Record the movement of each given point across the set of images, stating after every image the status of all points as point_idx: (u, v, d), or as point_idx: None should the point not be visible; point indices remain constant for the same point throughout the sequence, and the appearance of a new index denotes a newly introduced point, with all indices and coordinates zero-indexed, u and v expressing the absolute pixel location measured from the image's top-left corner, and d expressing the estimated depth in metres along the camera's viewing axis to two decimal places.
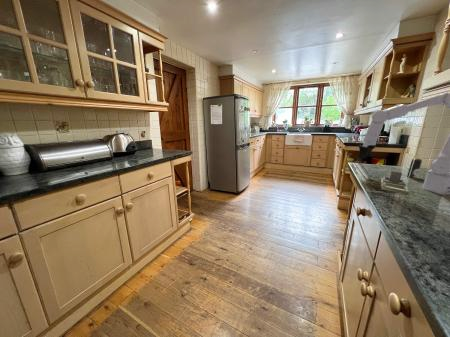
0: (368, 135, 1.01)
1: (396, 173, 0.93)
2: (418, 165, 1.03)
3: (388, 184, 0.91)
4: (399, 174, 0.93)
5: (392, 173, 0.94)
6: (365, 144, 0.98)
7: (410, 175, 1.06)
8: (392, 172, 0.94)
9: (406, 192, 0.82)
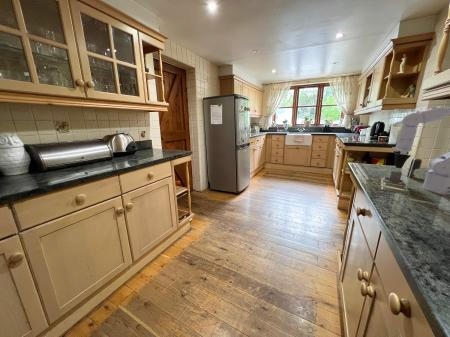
0: (402, 141, 0.89)
1: (396, 173, 0.93)
2: (418, 165, 1.03)
3: (388, 184, 0.91)
4: (399, 174, 0.93)
5: (392, 173, 0.94)
6: (404, 151, 0.86)
7: (410, 175, 1.06)
8: (392, 172, 0.94)
9: (406, 192, 0.82)
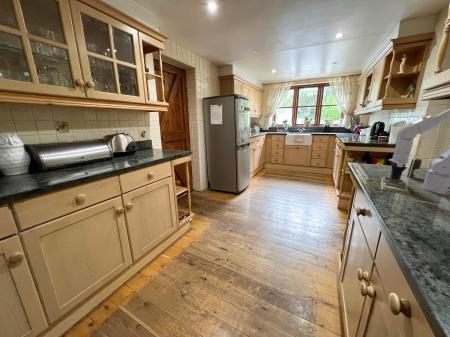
0: (399, 153, 0.91)
1: None
2: (418, 165, 1.03)
3: (388, 184, 0.91)
4: None
5: None
6: (400, 164, 0.88)
7: (410, 175, 1.06)
8: None
9: (406, 192, 0.82)
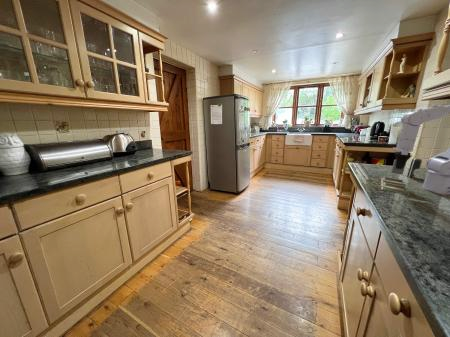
0: (403, 141, 0.85)
1: None
2: (418, 165, 1.03)
3: (388, 184, 0.91)
4: None
5: (395, 162, 0.89)
6: (405, 152, 0.82)
7: (410, 175, 1.06)
8: (395, 161, 0.89)
9: (406, 192, 0.82)
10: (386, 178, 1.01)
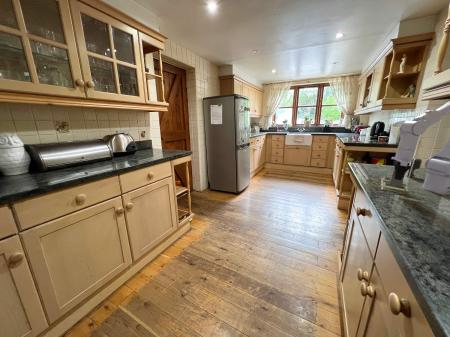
0: (402, 151, 0.81)
1: None
2: (418, 165, 1.03)
3: (388, 184, 0.91)
4: None
5: (394, 173, 0.85)
6: (404, 163, 0.78)
7: (410, 175, 1.06)
8: (394, 172, 0.85)
9: (406, 192, 0.82)
10: (386, 178, 1.01)
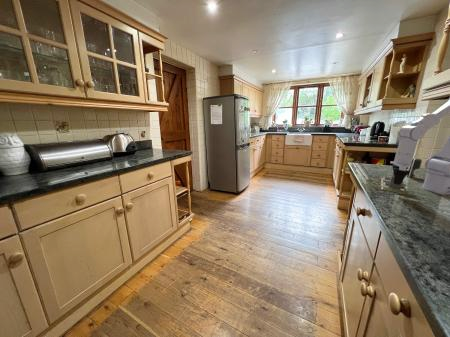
0: (401, 155, 0.82)
1: None
2: (418, 165, 1.03)
3: (388, 184, 0.91)
4: None
5: (392, 179, 0.86)
6: (403, 167, 0.79)
7: (410, 175, 1.06)
8: (392, 177, 0.85)
9: (406, 192, 0.82)
10: (386, 178, 1.01)
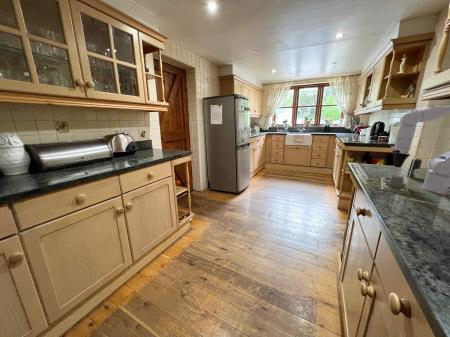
0: (401, 140, 0.89)
1: (397, 179, 0.85)
2: (418, 165, 1.03)
3: (388, 184, 0.91)
4: (400, 180, 0.84)
5: (392, 179, 0.86)
6: (403, 150, 0.86)
7: (410, 175, 1.06)
8: (392, 177, 0.85)
9: (406, 192, 0.82)
10: (386, 178, 1.01)
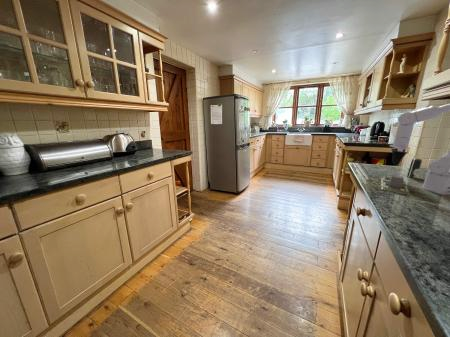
0: (399, 139, 0.94)
1: (397, 179, 0.85)
2: (418, 165, 1.03)
3: (388, 184, 0.91)
4: (400, 180, 0.84)
5: (392, 179, 0.86)
6: (400, 148, 0.91)
7: (410, 175, 1.06)
8: (392, 177, 0.85)
9: (406, 192, 0.82)
10: (386, 178, 1.01)
